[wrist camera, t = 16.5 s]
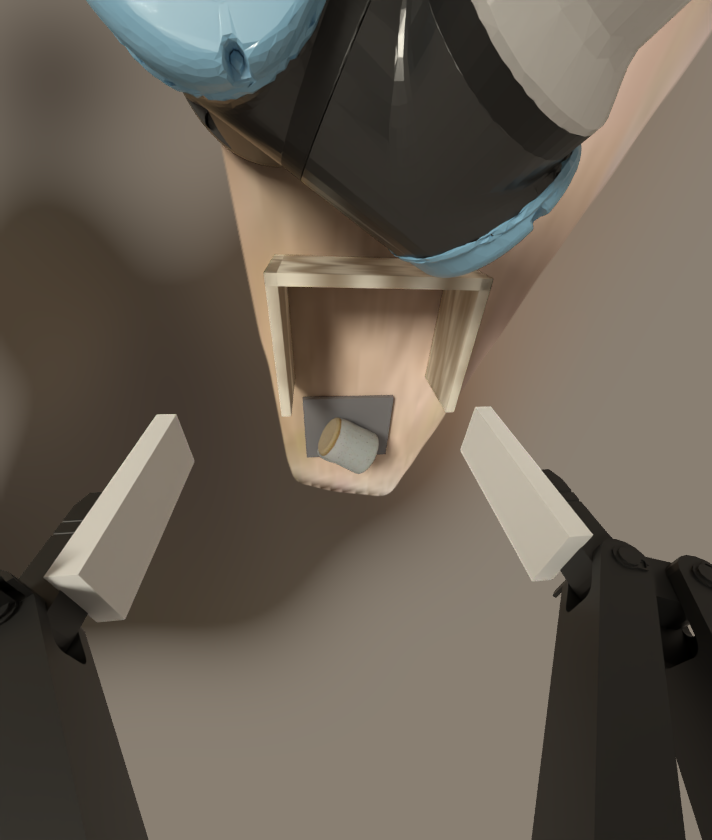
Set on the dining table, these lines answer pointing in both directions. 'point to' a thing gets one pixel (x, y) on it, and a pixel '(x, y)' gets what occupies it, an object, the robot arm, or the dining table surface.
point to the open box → (457, 302)
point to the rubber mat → (347, 416)
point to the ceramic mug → (348, 445)
